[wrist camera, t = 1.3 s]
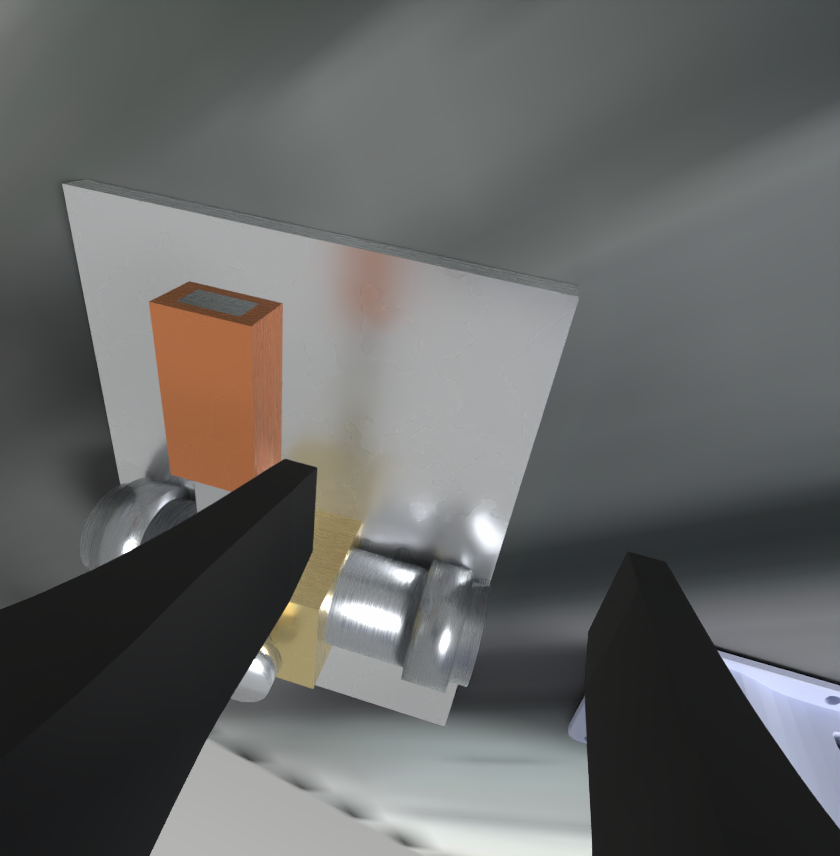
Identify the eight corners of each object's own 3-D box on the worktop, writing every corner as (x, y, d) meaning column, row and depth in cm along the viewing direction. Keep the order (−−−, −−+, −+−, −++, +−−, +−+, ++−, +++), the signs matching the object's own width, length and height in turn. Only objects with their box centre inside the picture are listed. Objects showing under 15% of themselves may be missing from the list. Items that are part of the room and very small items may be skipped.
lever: (284, 679, 19) (265, 716, 18) (216, 657, 20) (193, 692, 19) (291, 305, 12) (260, 328, 11) (181, 279, 12) (139, 299, 11)
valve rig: (579, 286, 16) (579, 371, 11) (448, 707, 28) (422, 836, 23) (85, 179, 18) (-93, 212, 13) (160, 616, 30) (80, 717, 25)
